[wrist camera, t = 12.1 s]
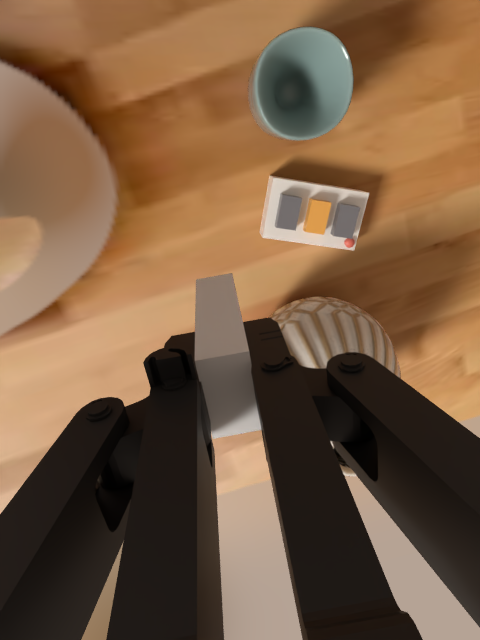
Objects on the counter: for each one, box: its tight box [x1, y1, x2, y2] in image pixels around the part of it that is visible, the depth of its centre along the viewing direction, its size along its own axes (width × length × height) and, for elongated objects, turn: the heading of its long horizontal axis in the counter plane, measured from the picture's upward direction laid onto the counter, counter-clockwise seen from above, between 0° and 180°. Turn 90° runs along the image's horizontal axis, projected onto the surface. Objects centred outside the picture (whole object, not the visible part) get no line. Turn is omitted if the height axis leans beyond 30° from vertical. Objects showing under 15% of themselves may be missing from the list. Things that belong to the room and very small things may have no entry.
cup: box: [248, 27, 354, 141], centre depth 37 cm, size 8×8×10 cm
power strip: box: [260, 175, 369, 251], centre depth 45 cm, size 10×6×4 cm, turn 81°
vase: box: [268, 297, 401, 476], centre depth 43 cm, size 16×16×20 cm
